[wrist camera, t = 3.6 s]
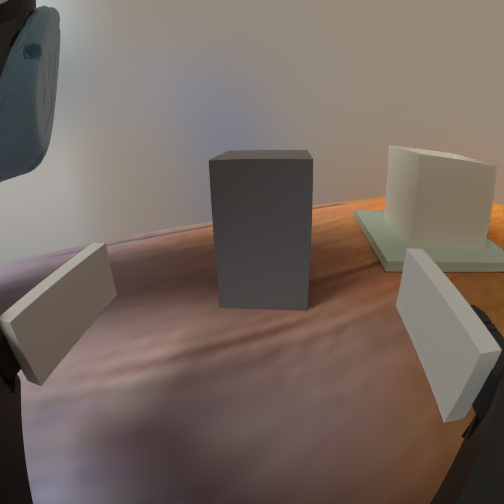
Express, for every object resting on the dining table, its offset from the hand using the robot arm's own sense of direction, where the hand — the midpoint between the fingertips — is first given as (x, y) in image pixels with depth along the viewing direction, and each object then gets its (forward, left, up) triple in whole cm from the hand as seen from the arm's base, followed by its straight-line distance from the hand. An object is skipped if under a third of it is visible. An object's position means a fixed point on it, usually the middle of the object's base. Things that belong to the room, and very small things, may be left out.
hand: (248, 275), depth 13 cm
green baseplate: (+14, +24, -6) cm, 28 cm away
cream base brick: (+14, +24, -5) cm, 28 cm away
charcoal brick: (-2, +10, -6) cm, 11 cm away
